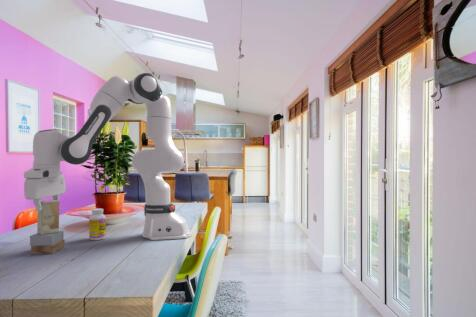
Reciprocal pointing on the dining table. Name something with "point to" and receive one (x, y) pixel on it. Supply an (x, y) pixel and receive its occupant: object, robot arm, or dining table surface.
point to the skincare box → (48, 217)
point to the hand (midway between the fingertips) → (47, 208)
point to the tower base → (48, 248)
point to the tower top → (46, 238)
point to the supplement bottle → (97, 225)
